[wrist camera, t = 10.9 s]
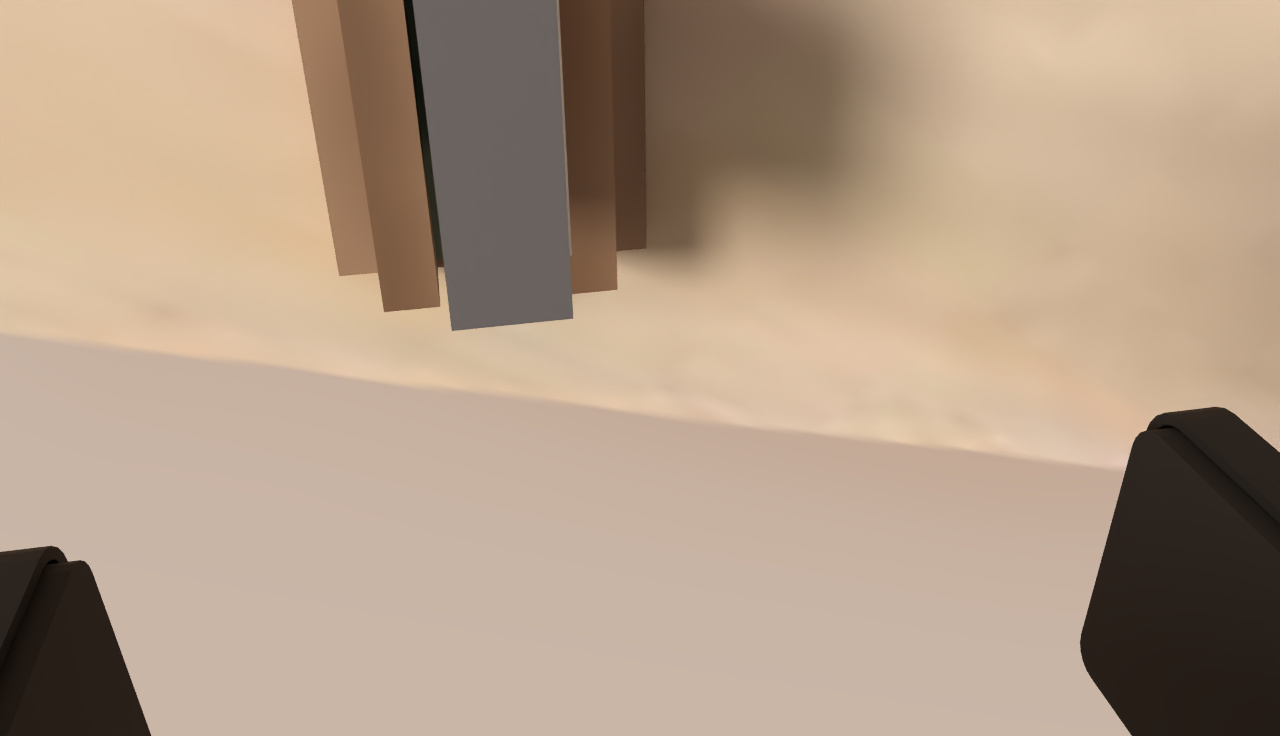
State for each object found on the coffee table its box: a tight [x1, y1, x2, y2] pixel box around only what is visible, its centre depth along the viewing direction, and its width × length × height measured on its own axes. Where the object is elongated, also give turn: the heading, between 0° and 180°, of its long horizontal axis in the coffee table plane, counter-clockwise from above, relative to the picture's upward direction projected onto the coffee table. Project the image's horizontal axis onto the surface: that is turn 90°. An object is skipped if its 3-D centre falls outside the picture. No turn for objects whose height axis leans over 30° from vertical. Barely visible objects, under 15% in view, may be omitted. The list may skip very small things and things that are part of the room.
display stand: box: [292, 0, 646, 312], centre depth 28 cm, size 9×14×4 cm, turn 1°
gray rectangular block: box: [413, 0, 573, 331], centre depth 24 cm, size 3×7×10 cm, turn 1°
